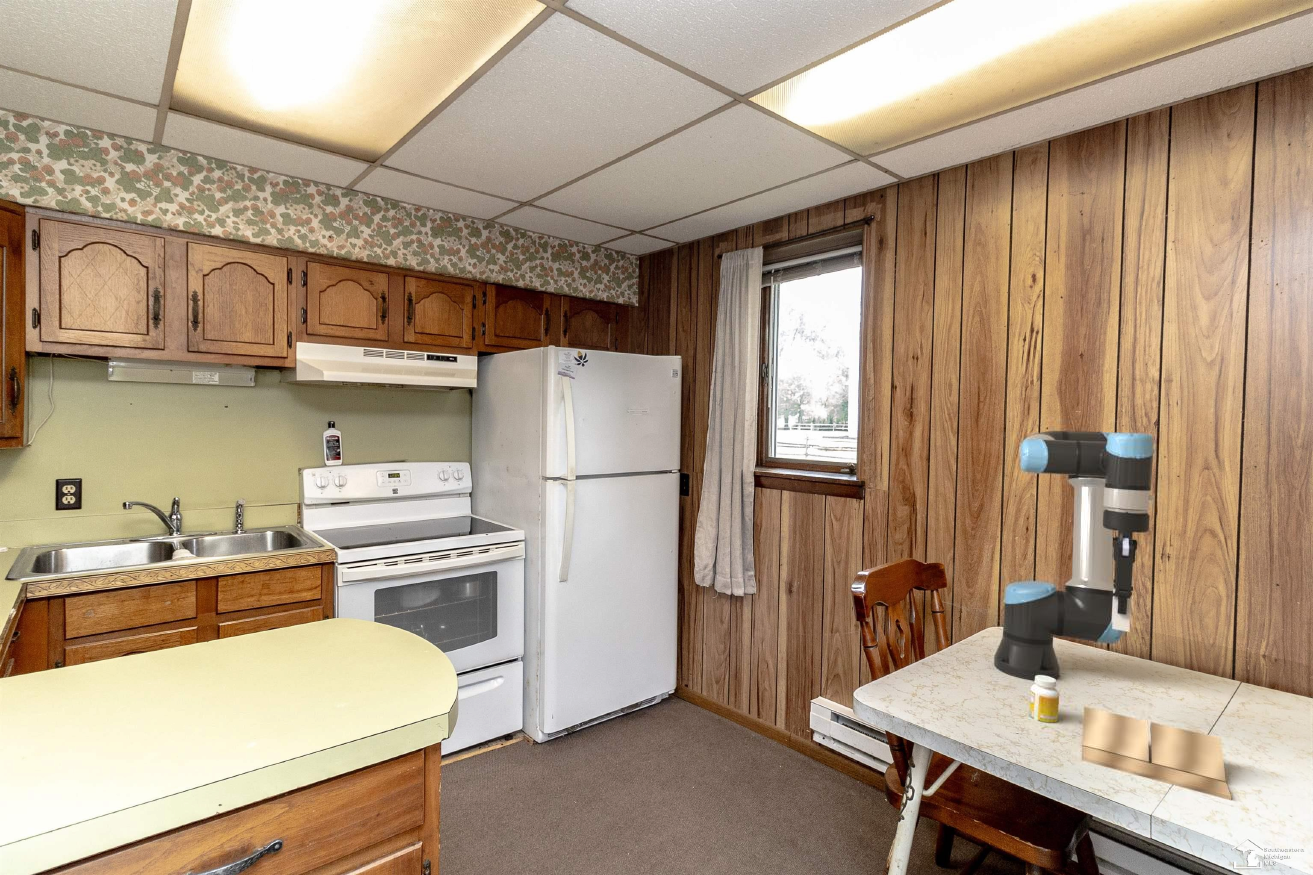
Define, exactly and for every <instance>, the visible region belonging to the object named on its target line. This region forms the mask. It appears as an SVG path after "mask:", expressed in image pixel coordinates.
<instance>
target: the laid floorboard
mask: <svg viewBox="0 0 1313 875" xmlns="http://www.w3.org/2000/svg"><path fill="white" fill-rule="evenodd" d="M1081 761H1083V762H1085V763H1090V764H1093V765H1097V766H1102V767H1104V768H1109V769H1111V770H1112V769H1113V770H1117V771H1121V772H1124V773H1127V774H1131V775H1135V776H1138V777H1143V778H1146V779H1150V780H1153V781H1154V780H1155V781H1157V782H1161V783H1165V784H1169V785H1172V786H1176V787H1179V788H1184V789H1187V790H1191V791H1195V792H1199V793H1203V794H1206V795H1209V796H1213V797H1217V798H1221V799H1225V800H1228V801H1232V795H1231V792H1230V790H1229V787H1228V784H1227V782H1221V781H1218V780H1214V779H1210V778H1206V777H1202V776H1198V775H1194V774H1190V773H1186V772H1183V771H1179V770H1175V769H1171V768H1167V767H1163V766H1159V765H1155V764H1151V762H1149V763H1147V762H1144V761H1140V760H1136V759H1132V758H1128V757H1124V756H1120V755H1116V754H1112V753H1109V752H1105V751H1101V750H1097V749H1093V748H1089V747H1085V746H1082V745H1081Z"/></svg>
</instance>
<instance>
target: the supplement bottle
mask: <svg viewBox="0 0 1313 875" xmlns="http://www.w3.org/2000/svg"><path fill="white" fill-rule="evenodd" d="M1056 687H1057V679H1056V680H1055V679H1054V678H1052V677H1049V676H1044V675H1037V676H1035V680H1034V684H1032V685H1031V687H1030V694H1029V695H1030V696H1029V708H1028V715H1029V717H1030V718H1031V719H1033V720H1034V721H1037V722H1041V723H1046V724H1056V723H1058V720H1059V705H1060V704H1059V703H1060V693H1059V691H1058V690H1057V689H1056Z"/></svg>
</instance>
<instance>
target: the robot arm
mask: <svg viewBox="0 0 1313 875" xmlns="http://www.w3.org/2000/svg"><path fill="white" fill-rule="evenodd" d="M1154 454H1155V449H1154V437H1153V436H1152V435H1151V434H1149V433H1138V432H1105V431H1080V430H1079V431H1077V430H1076V431H1075V430H1070V431H1069V430H1048V431H1042V432H1038V433H1034V434H1031V435H1028V436H1027V437H1024V439H1023V440H1022V441H1021V442H1020V444H1019V447H1018V455H1019V459H1020V460H1019V461H1020V464H1019V465H1020V470H1022V471H1023V472H1025V473H1033V474H1045V475H1046V474H1048V475H1049V474H1050V475H1065V476H1066V475H1068V476H1067V481H1068V483H1069V484H1070V485H1072V487H1073V489H1074V493H1073V494H1074V496H1073V499H1074V501H1073V530H1072V531H1073V532H1072V533H1073V537H1072V568H1071V569H1072V570H1071V571H1072V572H1071V579H1069V580H1068V581H1066V583H1065V584H1064V590H1058V589H1057V586H1056V585H1055V584H1054V583H1051V582H1045V581H1041V580H1037V581H1036V580H1024V581H1015V582H1011V583H1010V584H1008V585H1007V586H1006V588H1005V591H1004V593H1005V594H1004V599H1003V603H1004V608H1003V609H1004V610H1003V611H1004V612H1003V624H1002V638H1001V639H1000V642H999V645H998V646H997V648H996V652H995V654H994V657H993V665H994V667H995V668H996V669H997V670H999V671H1001V672H1002V673H1005V674H1009V675H1011V676H1014V677H1016V678H1017V677H1018V678H1021V679H1027V680H1031V681H1032V680H1033V681H1035V676H1037V675H1044V676H1049V677H1052V678H1054V679H1055V680H1056V681H1057V680H1058V679H1059V678H1060V671H1061V670H1060V665H1059V663H1058V662H1059V661H1058V658H1057V655H1056V652H1055V648H1054V636H1056V637H1057V636H1058V637H1063V638H1069V639H1075V640H1081V641H1082V640H1083V641H1088V642H1089V641H1090V642H1093V643H1096V644H1098V643H1103V644H1104V643H1105V644H1116V643H1117V642H1119V640H1120V639H1121V638H1122V636H1123V633H1124V632H1128V633H1129V632H1130V624H1131V607H1132V606H1131V605H1132V603H1131V602H1132V598H1131V597H1132V596H1133V592H1134V586H1132V584H1133V568H1134V567H1133V565H1134V563H1135V562H1136V551H1137V550H1138V541H1137V539H1134V538H1133V537H1134V535H1133V534H1134V533H1140V534H1141V533H1148V532H1149V531H1150V520H1151V519H1150V518H1151V517H1150V514H1149V513H1147V511H1149V510H1150V508H1151V502H1150V501H1154V500H1155V495H1152V494H1151V490H1152V477H1153V461H1154ZM1114 531H1117V536H1116V537H1114ZM1113 561H1114V562H1115V563H1114V573H1113ZM1113 574H1114V578H1113ZM1112 582H1113V583H1112Z"/></svg>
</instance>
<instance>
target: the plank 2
mask: <svg viewBox="0 0 1313 875" xmlns="http://www.w3.org/2000/svg"><path fill="white" fill-rule="evenodd" d="M1149 726H1150V730H1149V731H1150V756H1151V757H1150V759H1151V761H1150V763H1151V764H1155V765H1159V766H1163V767H1167V768H1171V769H1175V770H1179V771H1183V772H1186V773H1190V774H1194V775H1198V776H1202V777H1206V778H1210V779H1214V780H1218V781H1221V782H1225V783H1227V781H1226V773H1225V765H1224V756H1223V749H1222V748H1223V746H1222V738H1221V737H1218V736H1215V735H1210V734H1205V733H1201V732H1196V731H1192V730H1187V729H1183V728H1179V727H1175V726H1171V725H1166V724H1160V723H1156V722H1152V721H1150V725H1149Z"/></svg>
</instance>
